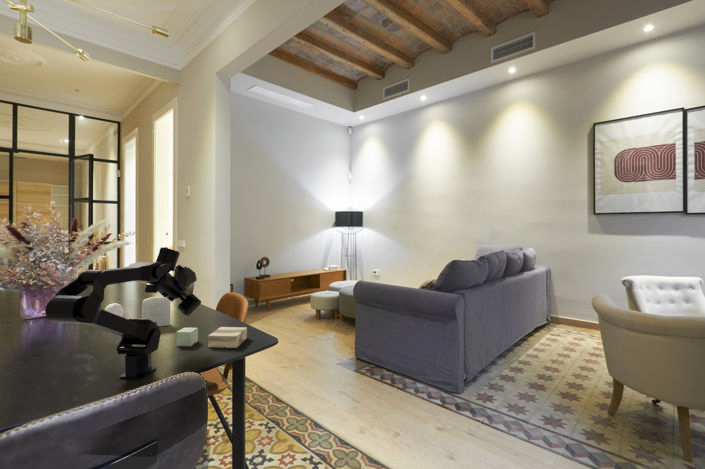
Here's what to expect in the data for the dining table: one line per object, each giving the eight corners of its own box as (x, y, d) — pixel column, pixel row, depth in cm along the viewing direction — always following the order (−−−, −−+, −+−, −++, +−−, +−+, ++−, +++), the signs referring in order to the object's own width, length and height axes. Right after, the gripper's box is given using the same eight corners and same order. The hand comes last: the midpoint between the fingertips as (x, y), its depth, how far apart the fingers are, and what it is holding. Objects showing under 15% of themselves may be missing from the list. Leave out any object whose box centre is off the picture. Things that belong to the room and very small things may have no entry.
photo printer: (170, 323, 141) (169, 294, 140) (170, 325, 137) (170, 296, 137) (141, 327, 135) (141, 297, 135) (141, 329, 131) (141, 299, 131)
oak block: (236, 347, 113) (236, 336, 113) (208, 347, 114) (208, 335, 114) (246, 337, 123) (246, 327, 123) (220, 337, 124) (220, 326, 124)
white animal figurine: (108, 305, 135) (93, 304, 141) (109, 326, 135) (94, 324, 141) (124, 302, 141) (110, 301, 146) (126, 322, 140) (111, 320, 146)
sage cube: (190, 346, 115) (190, 332, 114) (176, 346, 115) (176, 331, 115) (197, 341, 120) (197, 327, 119) (184, 341, 120) (184, 327, 120)
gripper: (203, 281, 105) (221, 298, 118) (167, 251, 111) (189, 270, 124) (175, 308, 100) (197, 322, 114) (139, 275, 107) (164, 292, 120)
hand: (187, 300), depth 118 cm, fingers open, 9 cm apart
